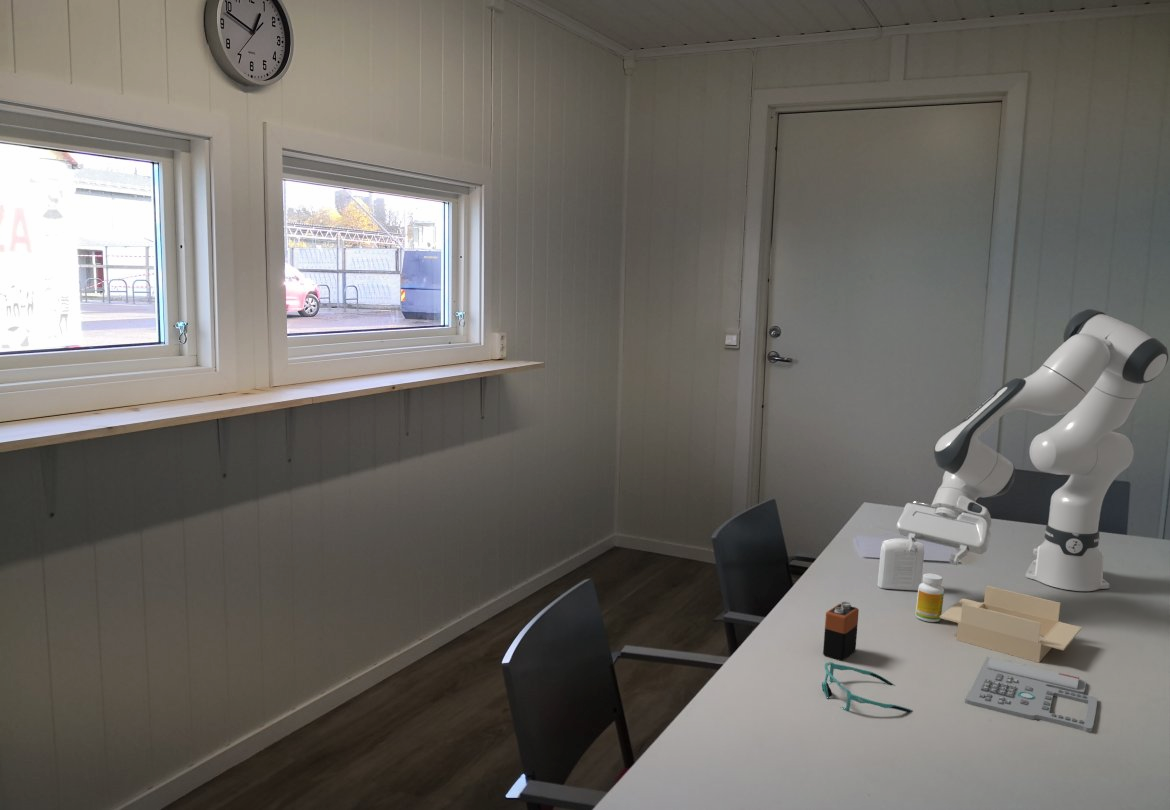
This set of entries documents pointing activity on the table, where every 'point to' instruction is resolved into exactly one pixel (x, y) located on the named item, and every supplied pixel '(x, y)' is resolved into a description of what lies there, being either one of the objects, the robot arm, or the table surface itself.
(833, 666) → the sunglasses
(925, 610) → the supplement bottle
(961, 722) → the table surface
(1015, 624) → the carton
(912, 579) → the photo printer
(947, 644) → the table surface
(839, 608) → the battery
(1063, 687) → the office telephone
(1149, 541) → the table surface
